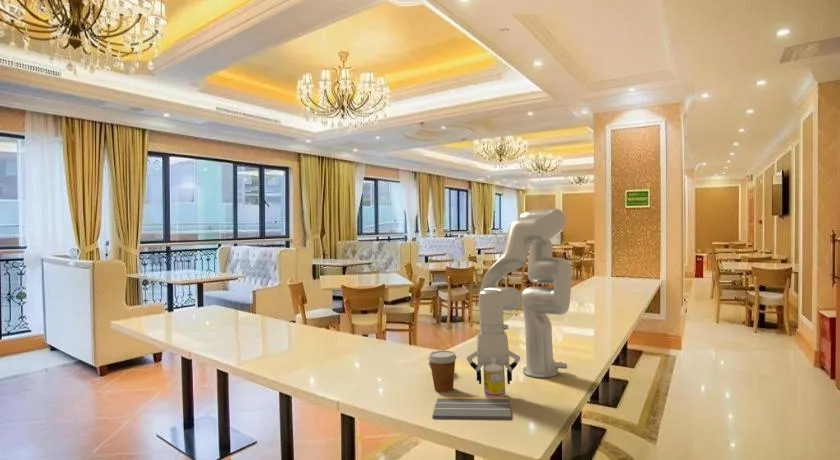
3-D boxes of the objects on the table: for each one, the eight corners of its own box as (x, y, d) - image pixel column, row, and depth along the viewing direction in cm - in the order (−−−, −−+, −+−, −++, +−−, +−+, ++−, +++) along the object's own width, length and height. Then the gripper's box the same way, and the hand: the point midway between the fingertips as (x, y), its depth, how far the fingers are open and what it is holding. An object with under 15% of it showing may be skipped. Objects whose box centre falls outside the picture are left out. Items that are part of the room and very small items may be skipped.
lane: (508, 399, 140) (508, 396, 140) (510, 419, 125) (510, 416, 125) (438, 399, 143) (437, 396, 143) (432, 418, 128) (432, 415, 128)
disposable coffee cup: (449, 395, 146) (447, 358, 146) (424, 391, 151) (423, 355, 151) (462, 386, 154) (461, 351, 154) (438, 383, 159) (437, 349, 159)
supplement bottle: (483, 392, 148) (481, 353, 148) (503, 391, 147) (501, 352, 148) (485, 400, 141) (483, 358, 141) (507, 399, 141) (505, 358, 141)
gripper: (518, 325, 147) (521, 379, 147) (465, 326, 150) (467, 379, 149) (520, 330, 140) (523, 387, 139) (464, 331, 142) (466, 386, 142)
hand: (494, 382), depth 144 cm, fingers open, 8 cm apart
